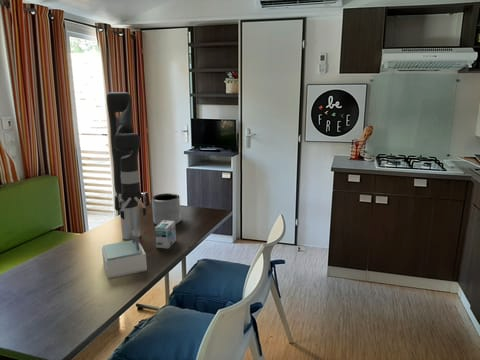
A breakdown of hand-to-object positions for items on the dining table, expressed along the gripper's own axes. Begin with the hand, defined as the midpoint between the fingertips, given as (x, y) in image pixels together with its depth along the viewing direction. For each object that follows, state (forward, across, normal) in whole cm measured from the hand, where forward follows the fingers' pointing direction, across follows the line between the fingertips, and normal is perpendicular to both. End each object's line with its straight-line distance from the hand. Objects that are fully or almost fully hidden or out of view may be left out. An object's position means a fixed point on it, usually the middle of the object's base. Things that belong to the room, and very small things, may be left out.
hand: (133, 217), depth 157 cm
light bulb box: (+22, -18, -16) cm, 33 cm away
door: (+14, +6, 0) cm, 15 cm away
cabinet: (+22, +6, 0) cm, 23 cm away
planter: (+22, -26, -47) cm, 58 cm away
